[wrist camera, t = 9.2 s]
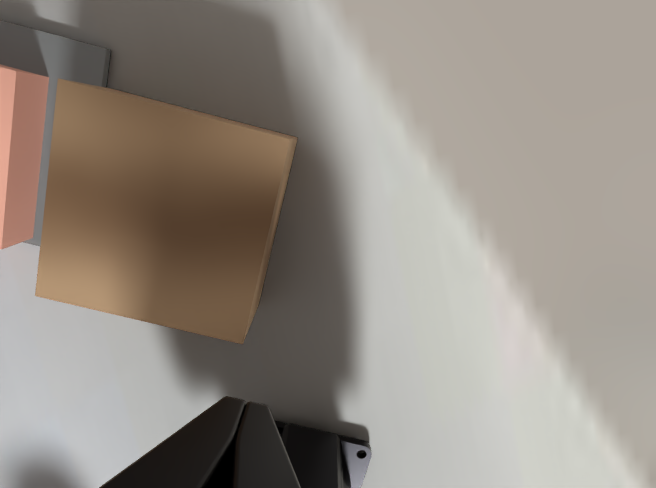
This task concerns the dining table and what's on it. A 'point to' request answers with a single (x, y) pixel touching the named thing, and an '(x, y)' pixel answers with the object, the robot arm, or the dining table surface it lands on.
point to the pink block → (20, 151)
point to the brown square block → (159, 211)
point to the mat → (51, 81)
